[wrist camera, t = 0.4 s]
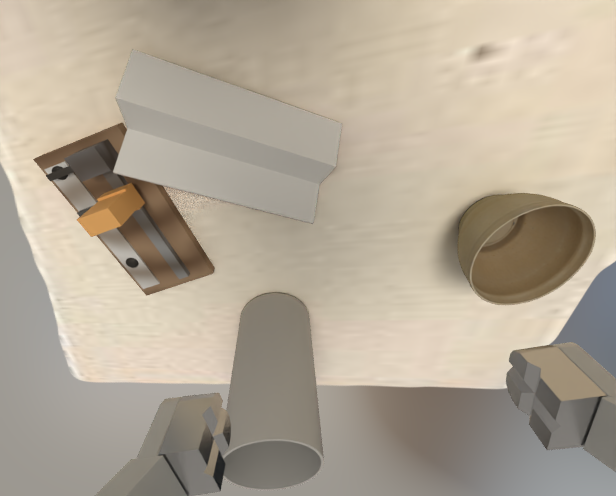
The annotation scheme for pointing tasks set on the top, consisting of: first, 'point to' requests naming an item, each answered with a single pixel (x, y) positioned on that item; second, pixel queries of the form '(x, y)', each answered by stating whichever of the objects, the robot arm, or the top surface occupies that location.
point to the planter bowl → (522, 246)
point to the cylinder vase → (273, 398)
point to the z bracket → (222, 140)
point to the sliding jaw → (110, 210)
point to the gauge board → (141, 224)
